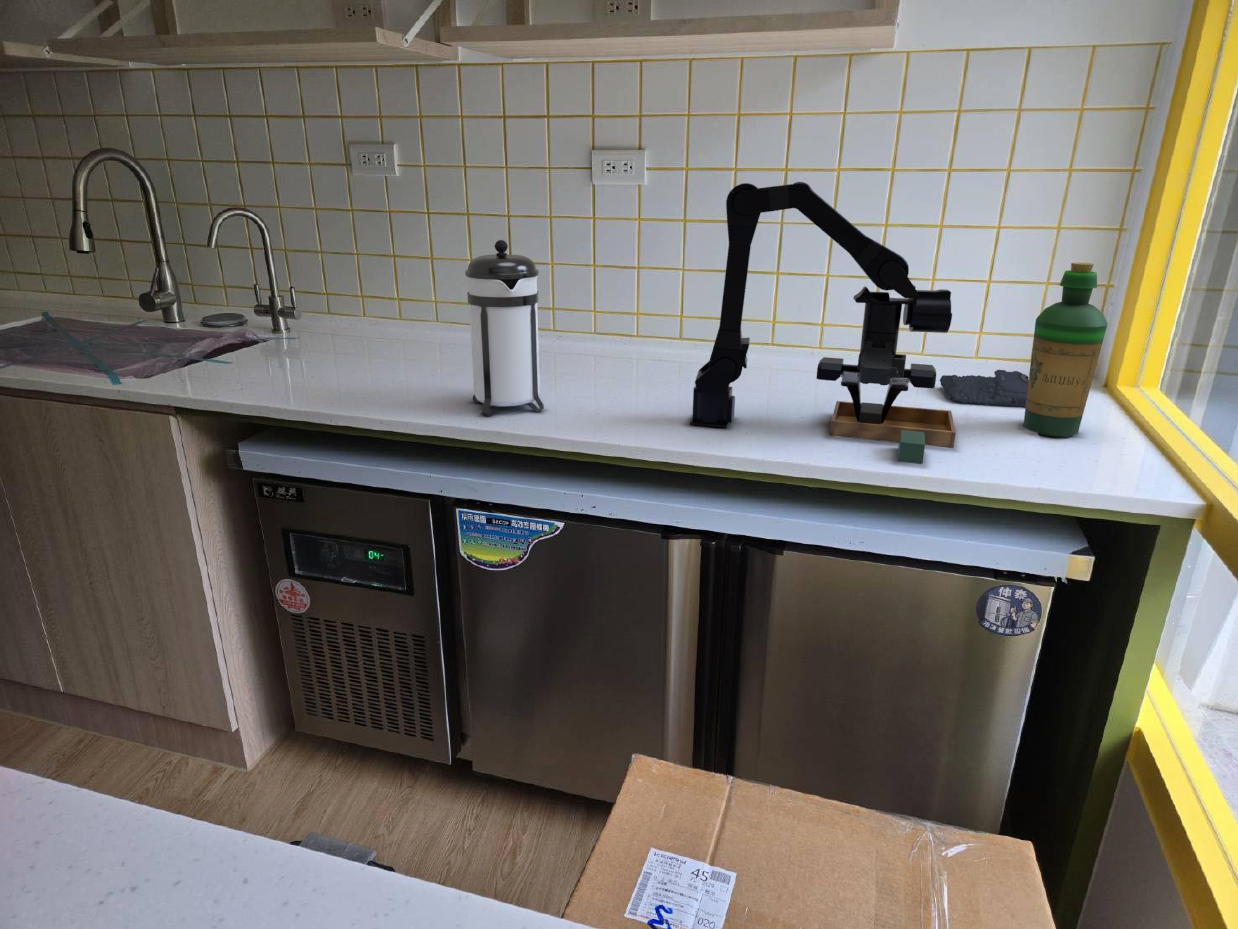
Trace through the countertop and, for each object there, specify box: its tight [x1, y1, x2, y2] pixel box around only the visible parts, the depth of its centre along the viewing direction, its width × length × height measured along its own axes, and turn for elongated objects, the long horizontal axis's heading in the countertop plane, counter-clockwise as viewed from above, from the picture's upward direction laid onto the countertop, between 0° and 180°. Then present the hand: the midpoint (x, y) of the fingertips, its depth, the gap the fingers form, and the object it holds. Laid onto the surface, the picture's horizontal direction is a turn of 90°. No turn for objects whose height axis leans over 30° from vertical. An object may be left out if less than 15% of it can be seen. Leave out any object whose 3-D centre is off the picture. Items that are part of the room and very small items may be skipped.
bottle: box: [1022, 262, 1109, 438], centre depth 135 cm, size 11×11×28 cm
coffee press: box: [464, 239, 545, 417], centre depth 148 cm, size 17×16×30 cm
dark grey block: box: [859, 401, 884, 425], centre depth 139 cm, size 4×6×4 cm, turn 162°
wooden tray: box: [829, 400, 957, 449], centre depth 138 cm, size 19×13×3 cm
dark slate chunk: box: [939, 369, 1029, 408], centre depth 161 cm, size 15×22×5 cm
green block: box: [897, 430, 926, 464], centre depth 126 cm, size 4×6×4 cm, turn 162°
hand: (869, 421), depth 139 cm, fingers closed on dark grey block, 3 cm apart
